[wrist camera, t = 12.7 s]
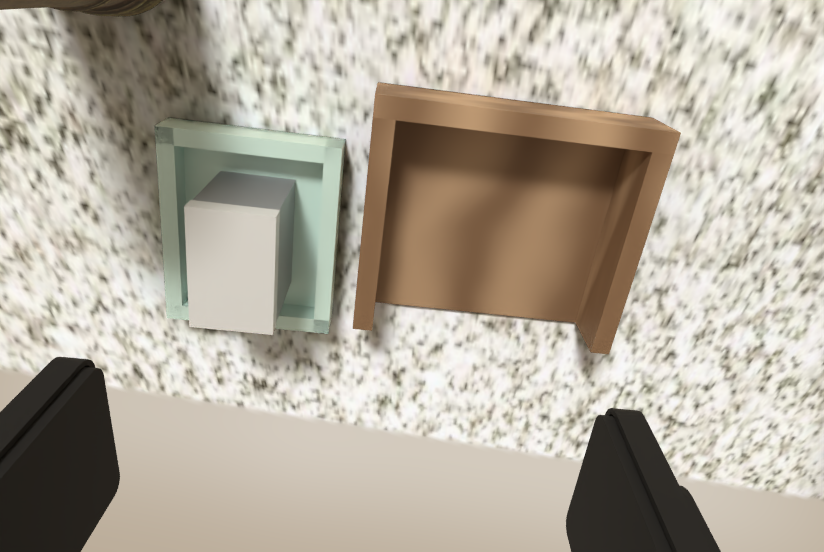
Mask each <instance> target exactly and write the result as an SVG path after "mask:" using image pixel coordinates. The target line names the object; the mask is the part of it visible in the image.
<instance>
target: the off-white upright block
mask: <svg viewBox="0 0 824 552" xmlns="http://www.w3.org/2000/svg"><path fill="white" fill-rule="evenodd" d="M295 185H296V180H294V179H286V178H277V177H269V176H260V175H252V174H243V173H235V172H226V171H220V172H219V173H218V174H217V175H216V176H215V177H214V178H213V179H212V180H211V181H210V182H209V183H208V184H207V185H206V186H205V187H204V188H203V189H202V191H201V192H200V193H199V194H198V195H197V196H196V197H195V198H194V199H193V200H190V201H189V202H188V203H187V204H186V205H185V206H184V216H185V239H186V262H187V284H188V307H189V327H197V328H207V329H217V330H227V331H237V332H247V333H257V334H267V335H273V333H274V331H275V328H276V322H277V319H278V317H279V314H280V311H281V308H282V306H283V303H284V300H285V298H286V295H287V292H288V290H289V287H290V284H291V278H292V255H293V232H294V208H295Z"/></svg>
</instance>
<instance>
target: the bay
mask: <svg viewBox="0 0 824 552" xmlns="http://www.w3.org/2000/svg"><path fill="white" fill-rule="evenodd" d="M680 134H681V133H680V132H678V131H676V130H675V129H673V128H671V127H669V126H667V125H665V124H663V123H661V122H660V121H658V120H656V119H654V118H651V117H643V116H635V115H627V114H620V113H612V112H604V111H596V110H589V109H581V108H573V107H565V106H558V105H550V104H542V103H534V102H527V101H519V100H511V99H503V98H496V97H488V96H480V95H472V94H465V93H457V92H449V91H441V90H434V89H426V88H418V87H410V86H403V85H395V84H387V83H379V82H378V84H377V88H376V93H375V101H374V112H373V122H372V132H371V143H370V153H369V164H368V174H367V185H366V195H365V205H364V216H363V226H362V237H361V247H360V257H359V268H358V278H357V289H356V299H355V310H354V320H353V329H361V330H371V331H372V326H373V317H374V308H375V302H380V303H390V304H400V305H410V306H419V307H429V308H439V309H448V310H458V311H468V312H478V313H487V314H497V315H507V316H516V317H526V318H536V319H546V320H555V321H565V322H575V323H576V325H577V327H578V329H579V331H580V333H581V334H582V336H583V338H584V340H585V342H586V344H587V346H588V348H589V350H590V352H592V353H602V354H609V352H610V349H611V346H612V343H613V340H614V337H615V334H616V331H617V328H618V325H619V322H620V319H621V315H622V312H623V309H624V306H625V303H626V300H627V297H628V294H629V291H630V288H631V285H632V282H633V279H634V276H635V272H636V269H637V266H638V263H639V260H640V257H641V254H642V251H643V248H644V245H645V242H646V239H647V236H648V233H649V229H650V226H651V223H652V220H653V217H654V214H655V211H656V208H657V205H658V202H659V199H660V196H661V193H662V190H663V186H664V183H665V180H666V177H667V174H668V171H669V168H670V165H671V162H672V159H673V156H674V153H675V150H676V147H677V143H678V140H679V137H680Z"/></svg>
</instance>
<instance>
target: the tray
mask: <svg viewBox="0 0 824 552" xmlns="http://www.w3.org/2000/svg"><path fill="white" fill-rule="evenodd" d="M345 140H346V139H340V138H331V137H323V136H315V135H307V134H299V133H290V132H282V131H274V130H266V129H258V128H249V127H241V126H233V125H225V124H217V123H208V122H200V121H192V120H184V119H175V118H167V119H165V120H164V121H162V122H160V123H158V124H157V125H155V141H156V157H157V172H158V187H159V203H160V218H161V234H162V249H163V265H164V280H165V296H166V311H167V318H172V319H182V320H189V307H188V284H187V262H186V239H185V216H184V206H185V205H186V204H187V203H188V202H189V201H190V200H193V199H194V198H195V197H196V196H197V195H198V194H199V193H200V192H201V191H202V189H203V188H204V187H205V186H206V185H207V184H208V183H209V182H210V181H211V180H212V179H213V178H214V177H215V176H216V175H217V174H218V173H219V172H220V171H226V172H235V173H243V174H252V175H260V176H269V177H277V178H286V179H294V180H296V185H295V208H294V232H293V255H292V278H291V284H290V287H289V290H288V292H287V295H286V298H285V300H284V303H283V306H282V308H281V311H280V314H279V317H278V319H277V322H276V328H275V329H283V330H293V331H304V332H314V333H324V334H328V333H329V328H330V323H331V319H332V308H333V295H334V282H335V269H336V256H337V243H338V230H339V217H340V204H341V191H342V178H343V166H344V153H345Z"/></svg>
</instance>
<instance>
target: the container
mask: <svg viewBox="0 0 824 552" xmlns="http://www.w3.org/2000/svg"><path fill="white" fill-rule="evenodd" d="M161 1H163V0H0V10H4V9H21V8H42V7H50V8H54V9H58V10H63V11H80V12H83V13H87V14H93V15H101V16H131V15H137V14H140V13H143V12H146V11H148V10H150V9H152V8H153V7H155V6H156V5H158V4H159V3H160V2H161Z"/></svg>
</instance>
